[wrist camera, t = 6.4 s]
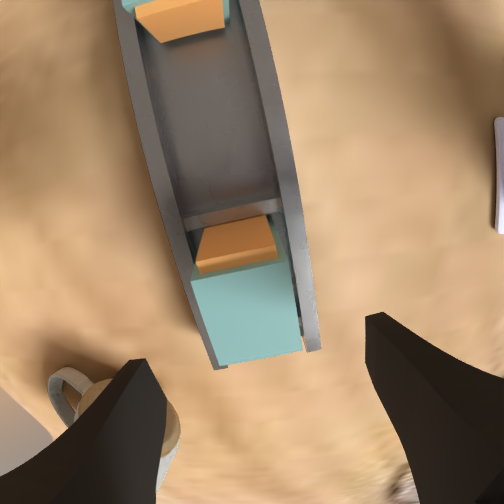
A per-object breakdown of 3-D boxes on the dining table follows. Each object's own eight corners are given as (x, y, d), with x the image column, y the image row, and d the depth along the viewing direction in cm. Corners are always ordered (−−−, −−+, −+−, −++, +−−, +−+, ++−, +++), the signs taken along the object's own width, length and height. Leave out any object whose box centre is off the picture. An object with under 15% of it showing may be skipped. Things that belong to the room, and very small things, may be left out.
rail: (236, -51, 11) (237, -75, 8) (311, 321, 19) (321, 349, 17) (124, -23, 11) (107, -42, 9) (215, 340, 20) (213, 370, 17)
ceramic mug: (191, 389, 21) (180, 481, 14) (167, 444, 24) (156, 517, 17) (54, 338, 19) (6, 413, 12) (55, 402, 22) (24, 468, 15)
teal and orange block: (269, 208, 15) (286, 247, 11) (285, 289, 17) (302, 350, 12) (199, 223, 15) (186, 268, 11) (222, 302, 17) (219, 365, 13)
